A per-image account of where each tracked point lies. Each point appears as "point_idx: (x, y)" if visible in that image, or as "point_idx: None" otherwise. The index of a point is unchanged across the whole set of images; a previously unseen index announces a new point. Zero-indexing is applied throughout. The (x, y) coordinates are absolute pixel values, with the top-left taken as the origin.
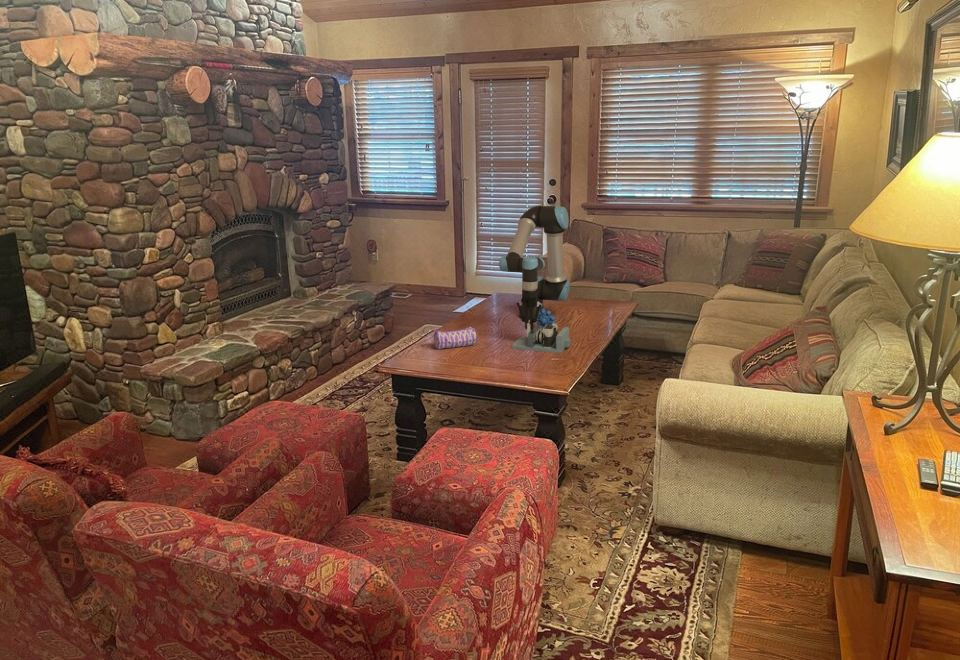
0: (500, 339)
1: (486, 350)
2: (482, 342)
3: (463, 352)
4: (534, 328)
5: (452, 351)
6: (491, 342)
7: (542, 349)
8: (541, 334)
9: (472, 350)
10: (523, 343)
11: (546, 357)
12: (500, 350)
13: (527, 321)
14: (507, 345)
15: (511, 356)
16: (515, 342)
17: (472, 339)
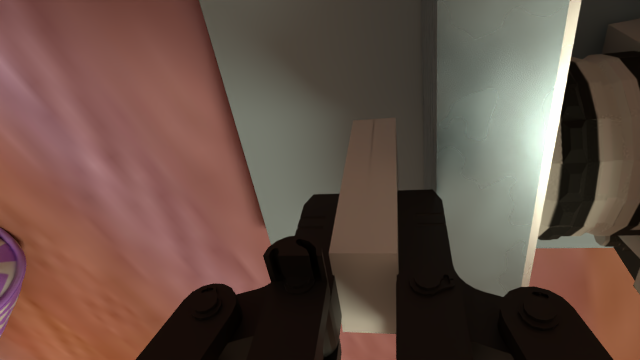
0: (29, 39)
1: (161, 303)
2: (3, 177)
3: (91, 348)
4: (461, 184)
5: (39, 347)
6: (50, 153)
7: (573, 241)
8: (599, 235)
9: (99, 318)
10: (341, 174)
11: (618, 328)
12: (235, 285)
13: (338, 356)
14: (206, 179)
15: (359, 352)
16: (257, 172)
17: (3, 313)
